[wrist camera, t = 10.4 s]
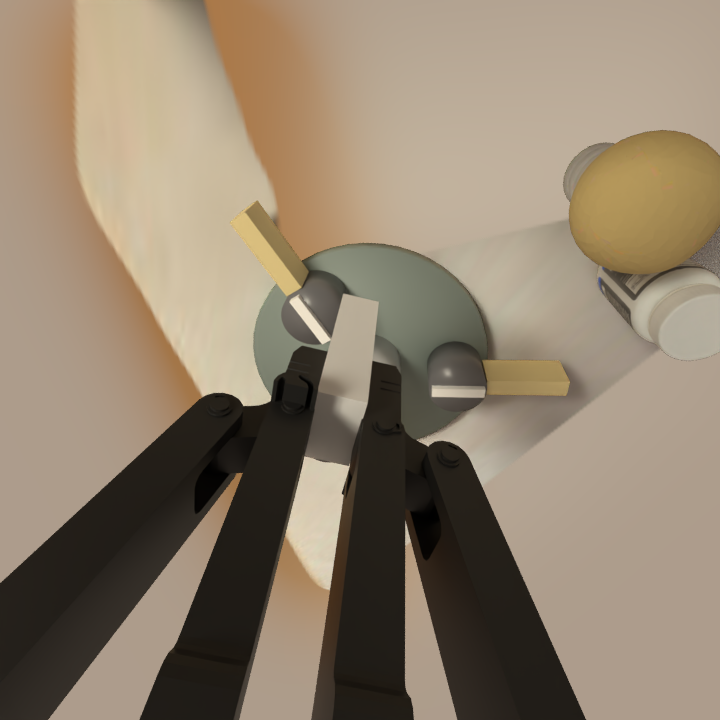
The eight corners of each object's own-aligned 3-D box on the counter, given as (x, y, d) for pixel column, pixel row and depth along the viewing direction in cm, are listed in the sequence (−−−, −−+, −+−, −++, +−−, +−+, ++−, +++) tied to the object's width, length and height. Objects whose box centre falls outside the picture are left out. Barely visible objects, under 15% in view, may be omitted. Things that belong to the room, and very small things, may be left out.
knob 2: (426, 384, 35) (427, 414, 32) (428, 341, 33) (430, 369, 30) (551, 386, 34) (565, 417, 31) (562, 342, 32) (578, 370, 29)
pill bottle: (661, 297, 31) (735, 366, 24) (589, 301, 32) (641, 369, 25) (681, 230, 28) (770, 285, 21) (602, 235, 29) (665, 290, 22)
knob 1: (358, 305, 32) (353, 331, 29) (313, 330, 33) (304, 357, 30) (275, 186, 28) (259, 202, 25) (228, 220, 29) (208, 238, 26)
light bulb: (577, 96, 25) (662, 115, 17) (675, 138, 26) (804, 177, 17) (517, 207, 28) (564, 267, 20) (606, 241, 29) (686, 312, 21)
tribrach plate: (237, 244, 31) (196, 289, 25) (499, 240, 30) (524, 287, 24) (275, 433, 41) (253, 498, 35) (473, 438, 40) (485, 507, 34)
